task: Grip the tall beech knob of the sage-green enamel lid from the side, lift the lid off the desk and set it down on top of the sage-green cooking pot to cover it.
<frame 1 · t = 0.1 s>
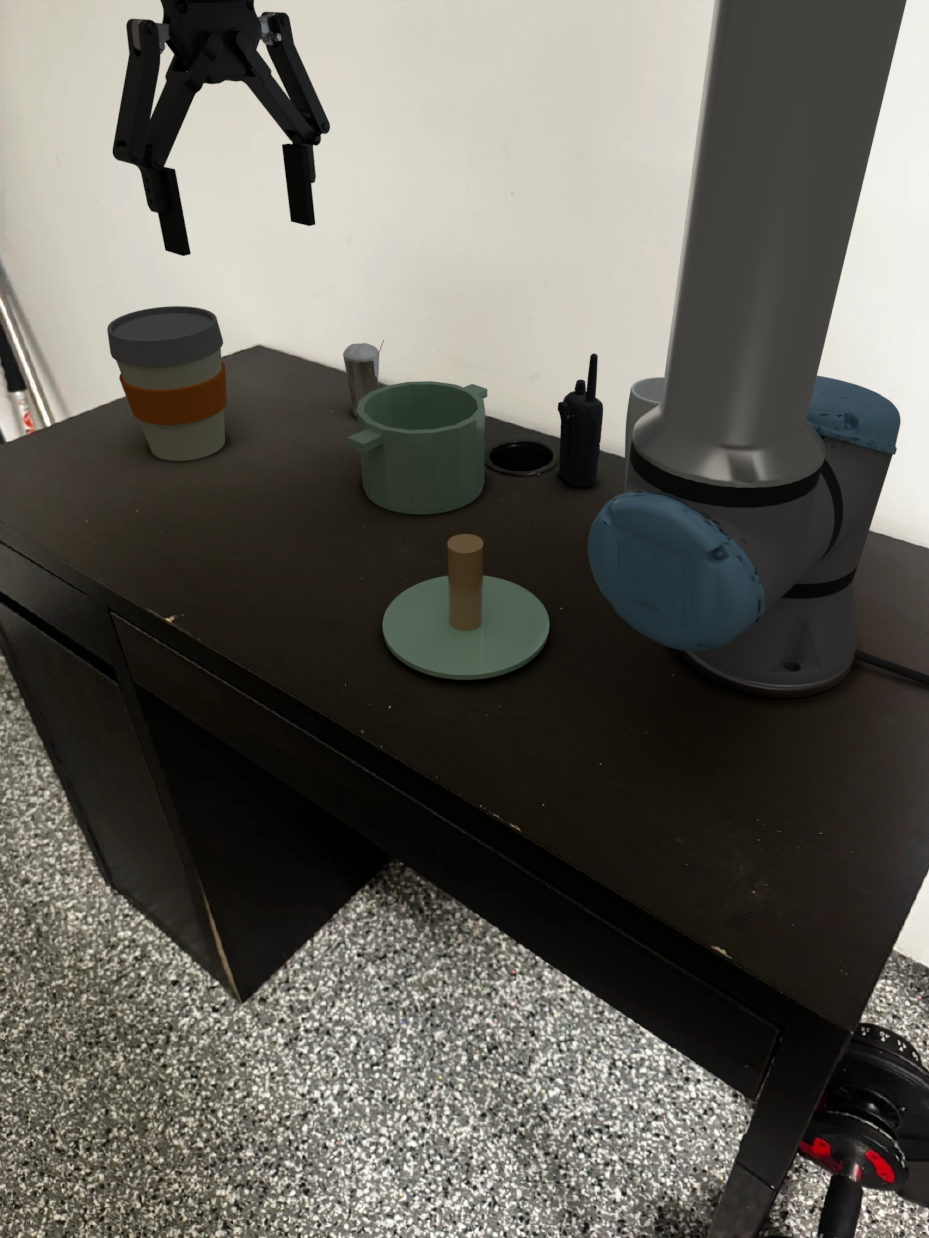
hand: (243, 237, 79), 28 cm above the table, tool pointing down, fingers open, 13 cm apart
reusable coffee cup: (188, 446, 109), on the table
milkshake: (369, 415, 116), on the table
two-way radio: (572, 482, 101), on the table
lid: (465, 625, 78), point 1 cm above the table
pot: (423, 484, 101), on the table
drinking glass: (647, 528, 93), on the table
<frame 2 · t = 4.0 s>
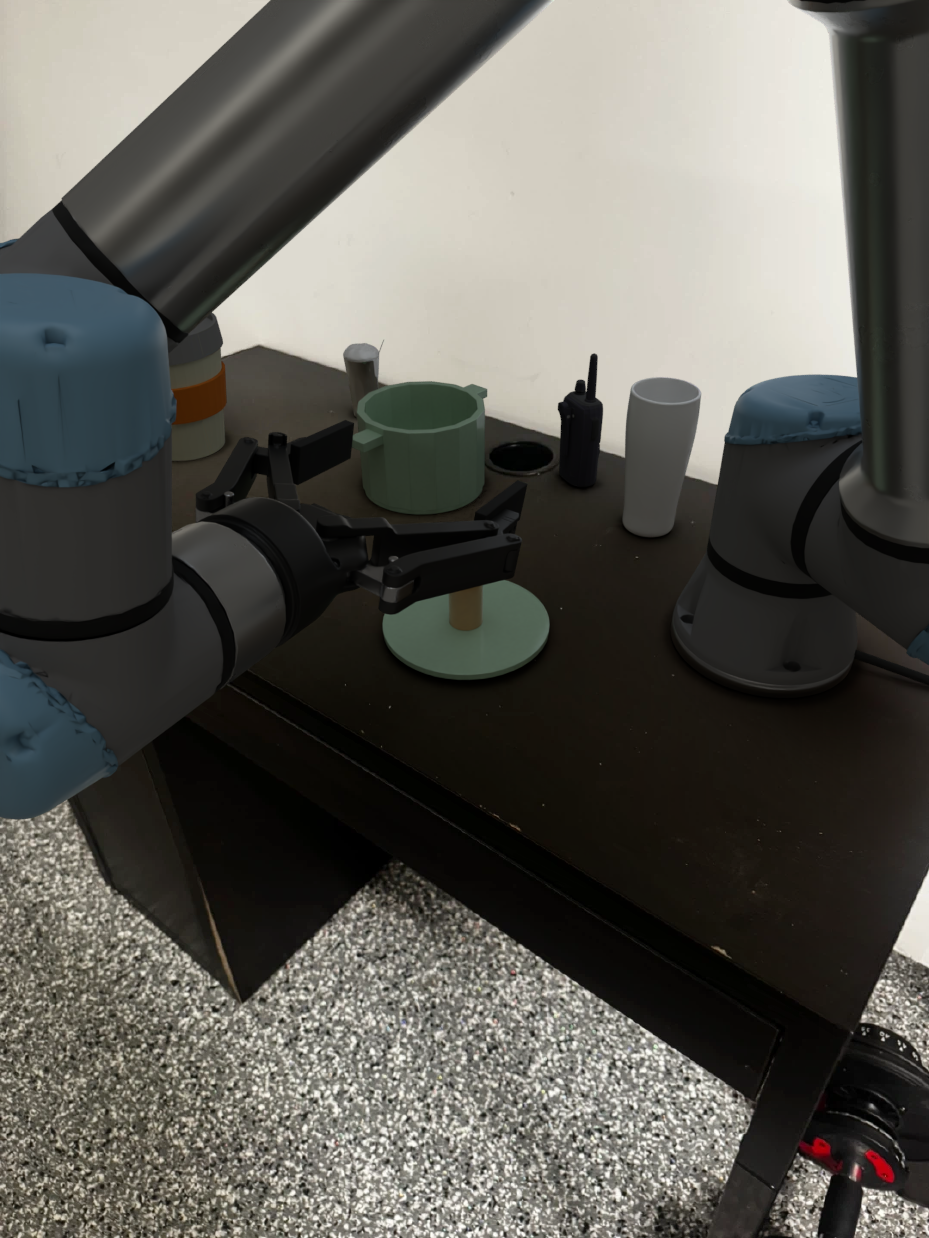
hand: (430, 468, 62), 19 cm above the table, tool horizontal, fingers open, 13 cm apart
nothing on the table moved.
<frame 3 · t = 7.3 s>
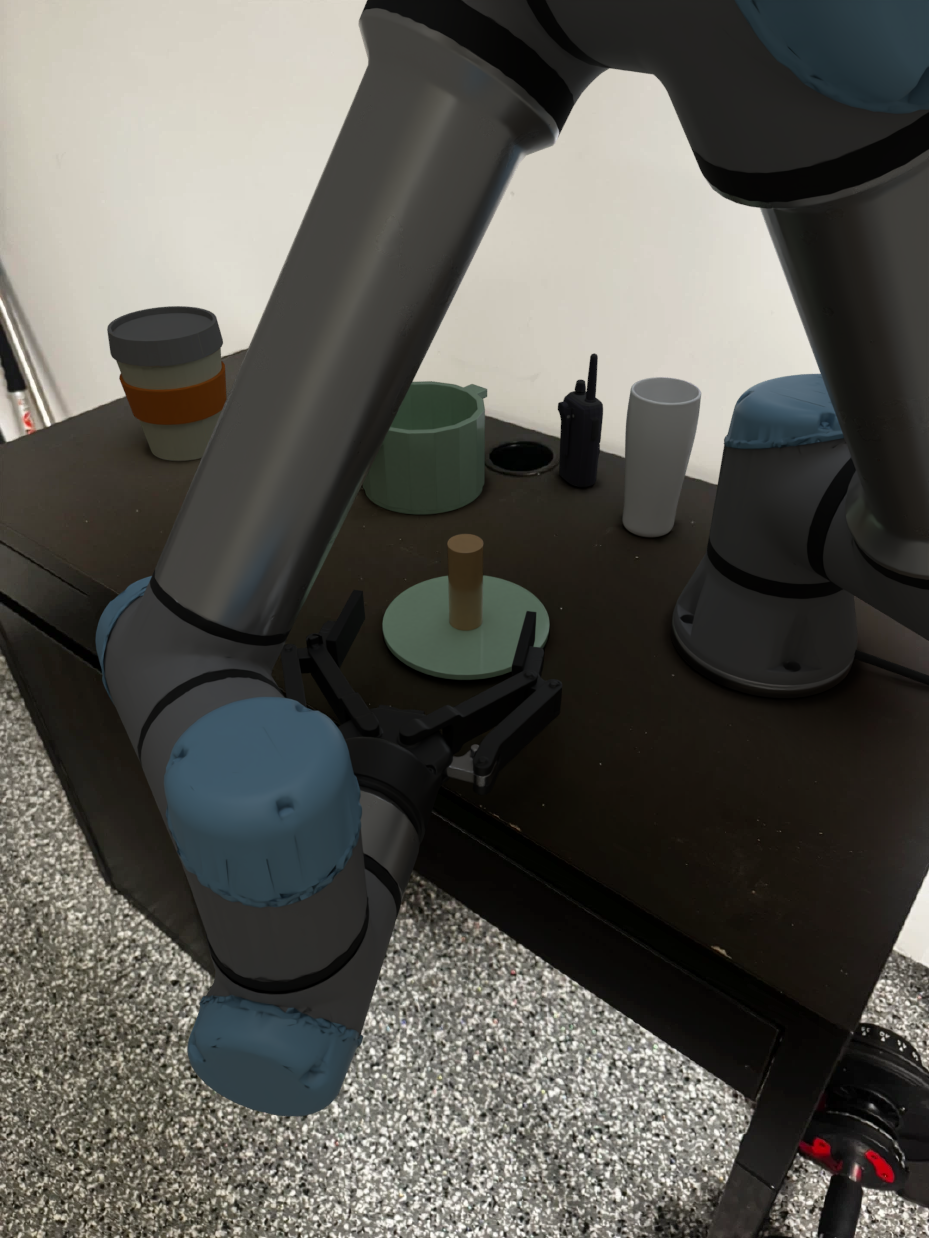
hand: (443, 614, 68), 7 cm above the table, tool horizontal, fingers open, 13 cm apart
nothing on the table moved.
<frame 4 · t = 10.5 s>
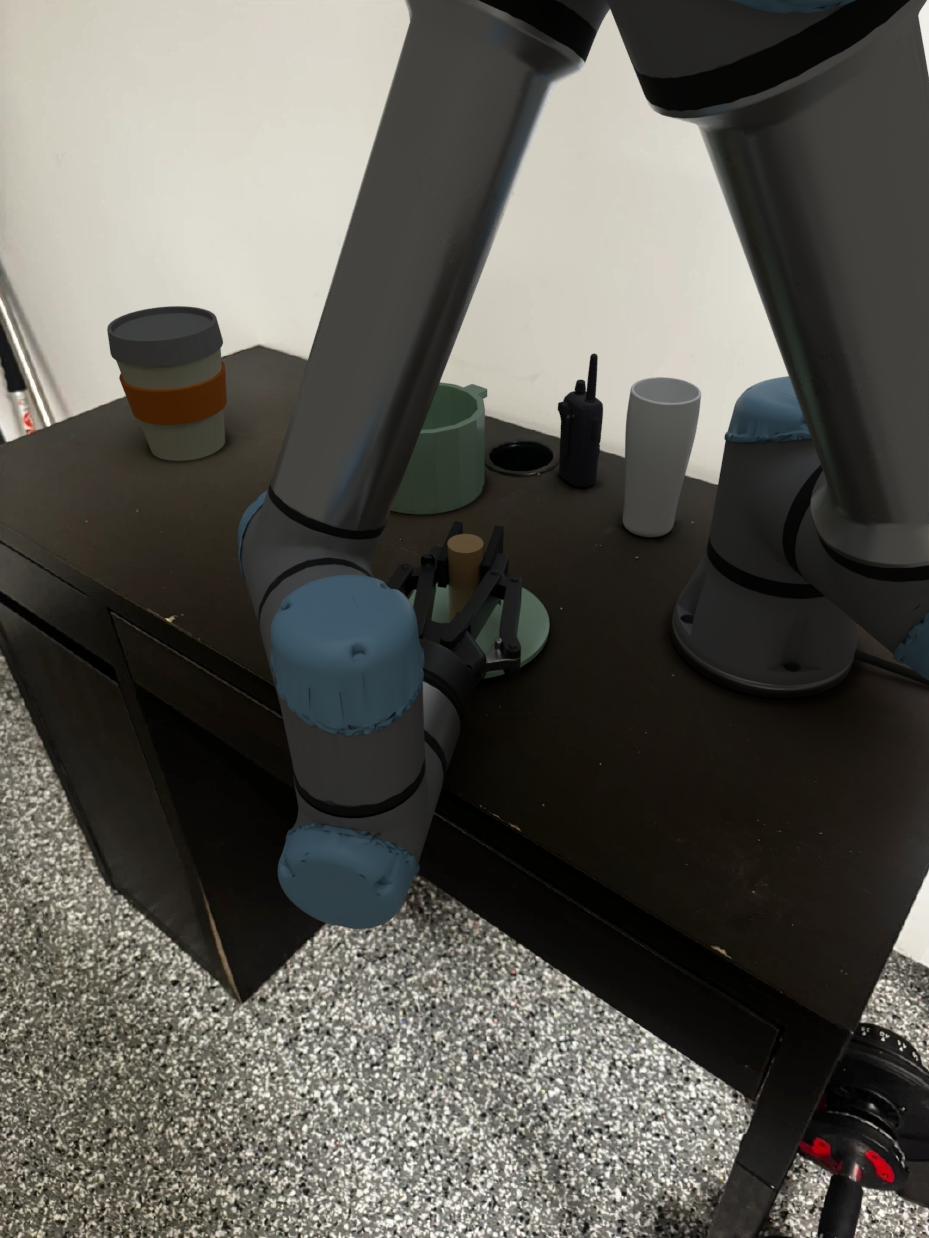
hand: (478, 537, 79), 6 cm above the table, tool horizontal, fingers closed on lid, 3 cm apart
lid: (465, 625, 78), point 1 cm above the table, touching gripper
everything else where it was.
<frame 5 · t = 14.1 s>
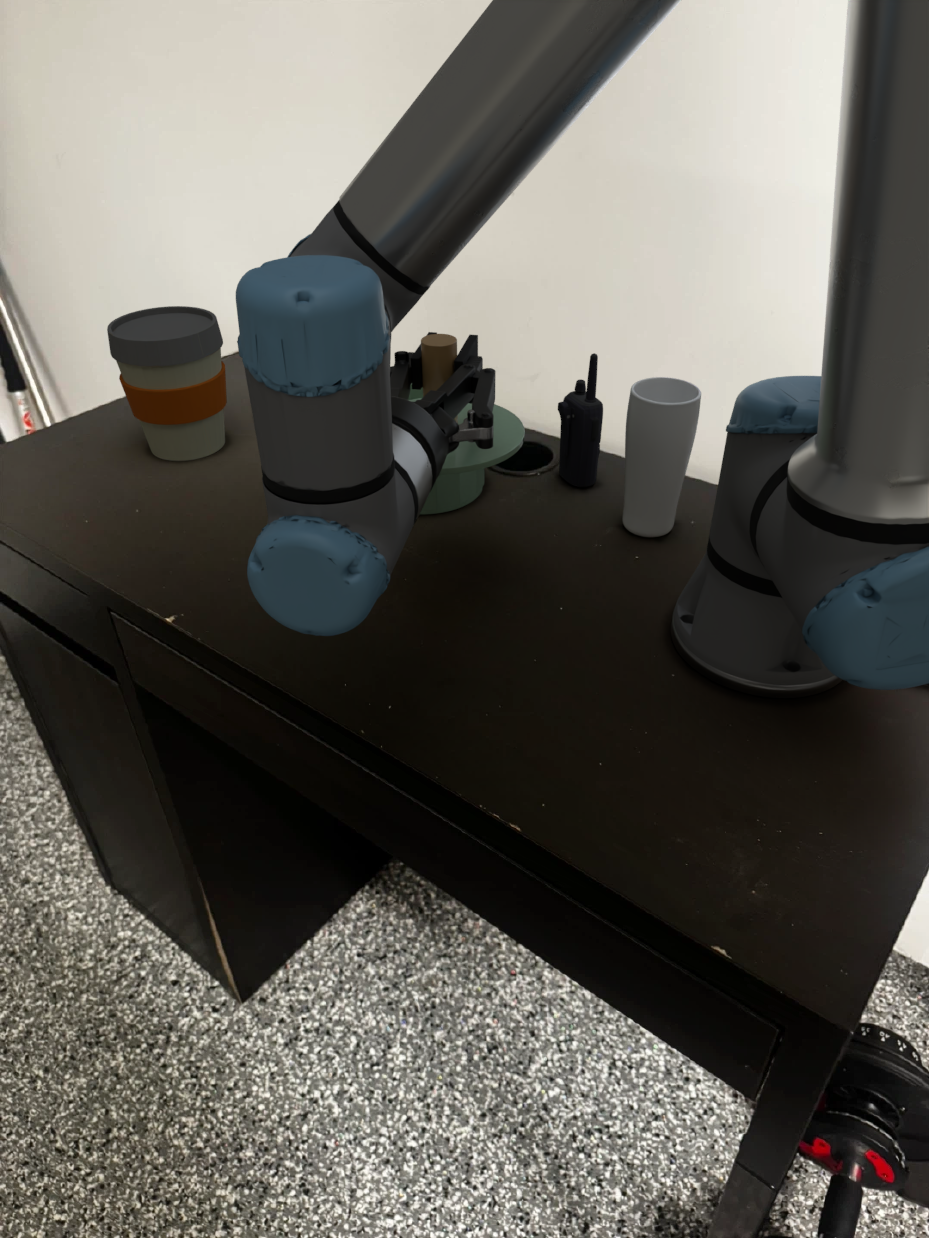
hand: (453, 348, 79), 20 cm above the table, tool horizontal, fingers closed on lid, 3 cm apart
lid: (441, 435, 78), point 14 cm above the table, touching gripper
everything else where it was.
when the fingers open (15 cm above the table, at t = 17.8 s): lid stays where it is, resting on pot.
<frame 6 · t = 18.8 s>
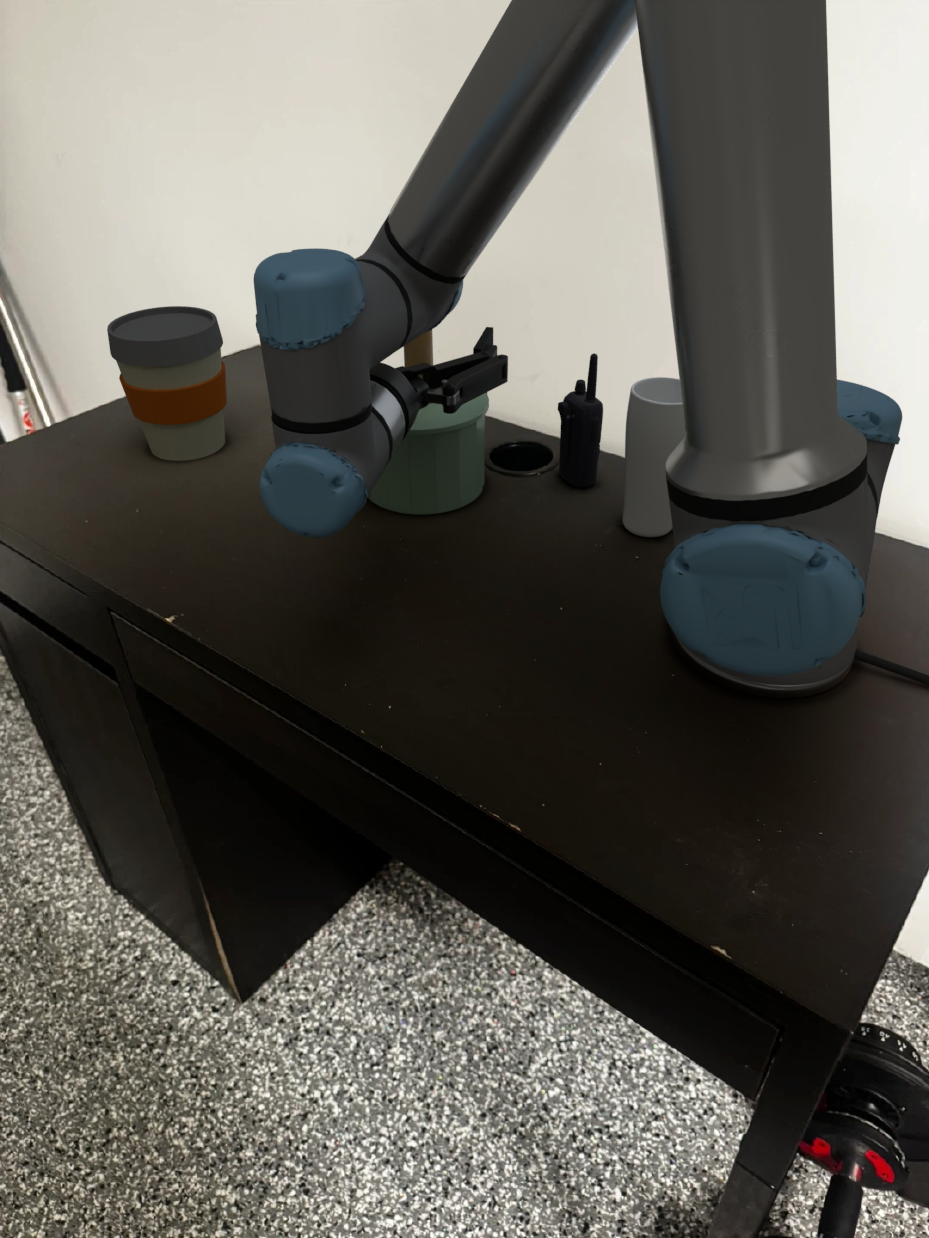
hand: (426, 335, 94), 16 cm above the table, tool horizontal, fingers open, 13 cm apart
lid: (420, 405, 95), point 9 cm above the table, touching pot
everything else where it was.
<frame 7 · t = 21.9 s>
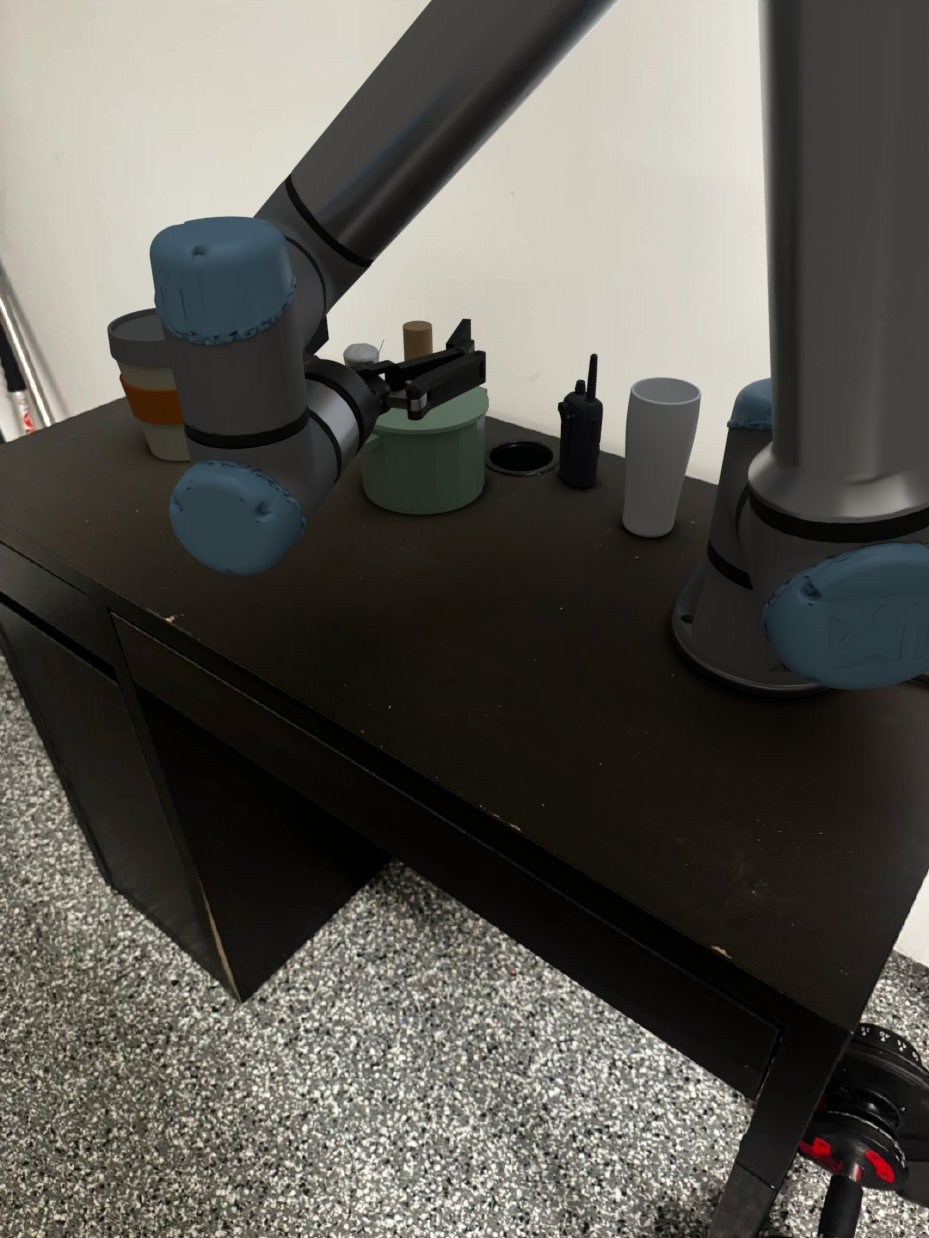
hand: (394, 329, 81), 21 cm above the table, tool horizontal, fingers open, 13 cm apart
nothing on the table moved.
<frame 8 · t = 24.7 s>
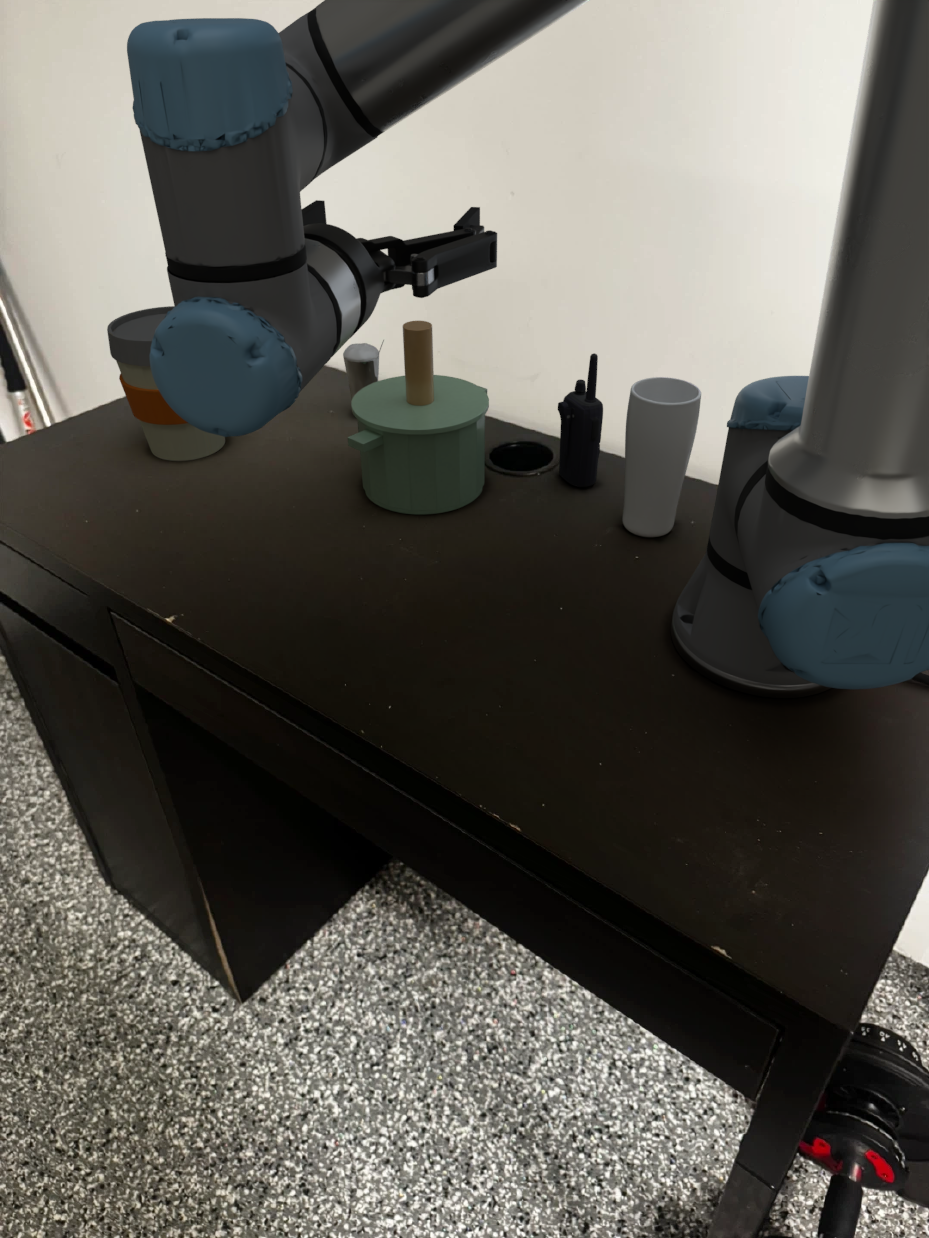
hand: (397, 220, 76), 30 cm above the table, tool horizontal, fingers open, 13 cm apart
nothing on the table moved.
at the end: lid 0.0 cm off-centre on the pot, point 9.5 cm above the pot's base; lid tilted 0°; the gripper is holding nothing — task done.
